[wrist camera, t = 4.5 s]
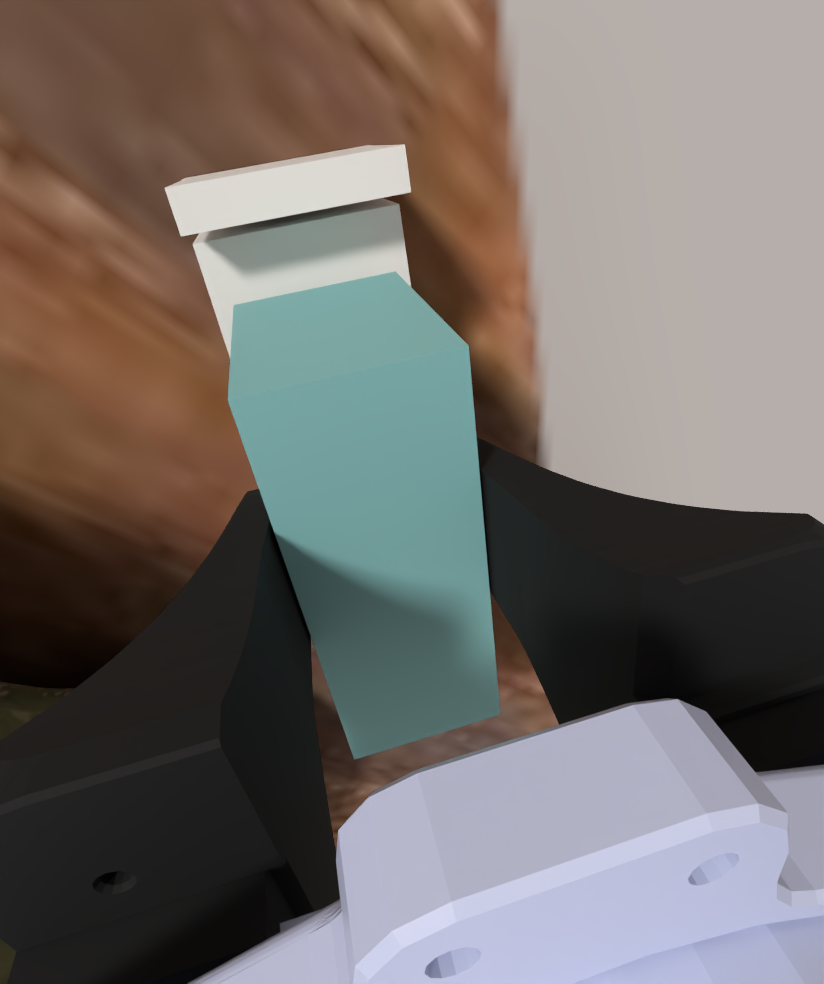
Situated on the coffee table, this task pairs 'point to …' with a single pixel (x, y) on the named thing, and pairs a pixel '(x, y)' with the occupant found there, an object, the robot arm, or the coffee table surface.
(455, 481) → the teal block
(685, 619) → the robot arm
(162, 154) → the coffee table surface
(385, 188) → the stand
